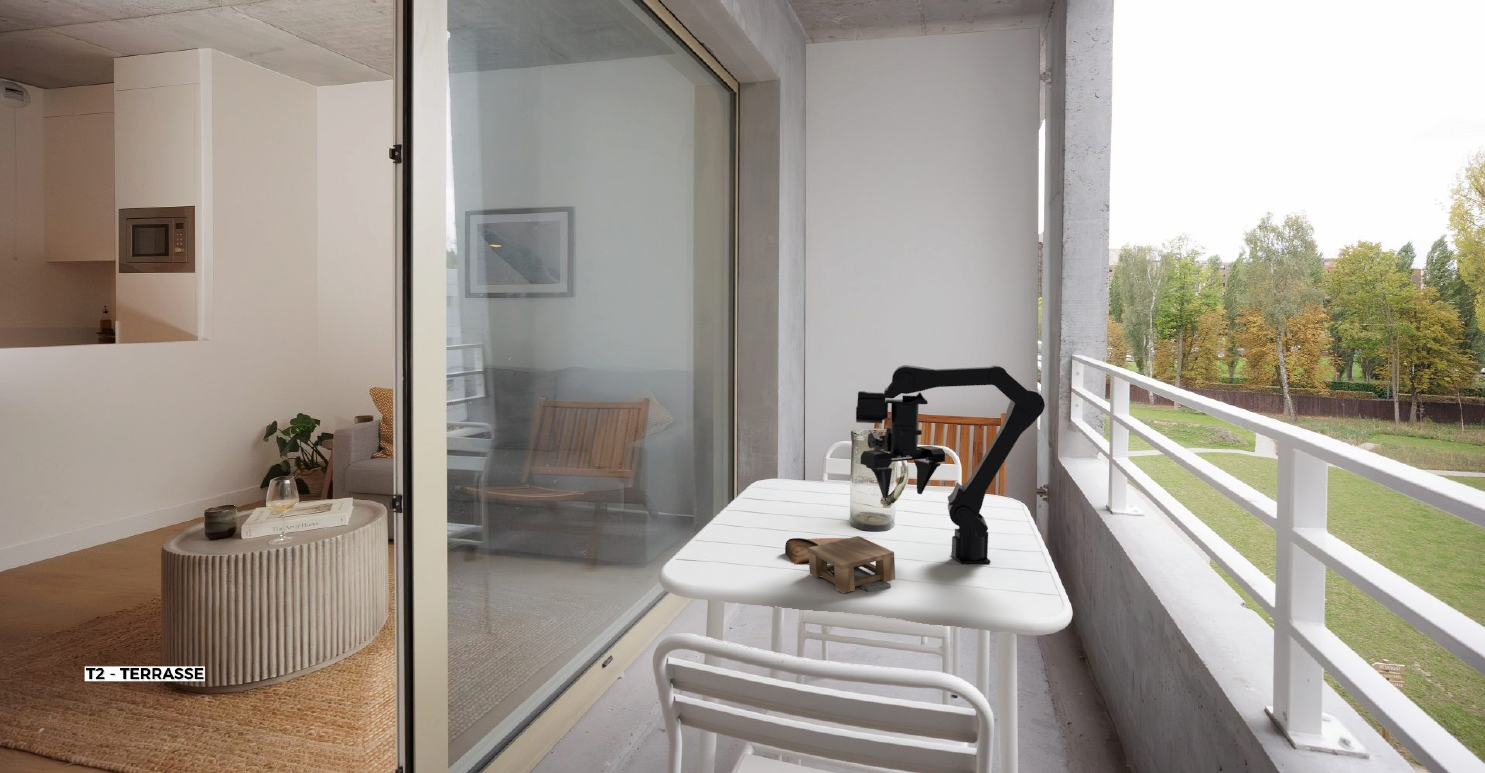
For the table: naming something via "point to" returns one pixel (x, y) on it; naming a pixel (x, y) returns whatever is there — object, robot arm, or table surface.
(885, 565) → the wood grain block
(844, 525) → the table surface
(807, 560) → the sunglasses case
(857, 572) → the strip
